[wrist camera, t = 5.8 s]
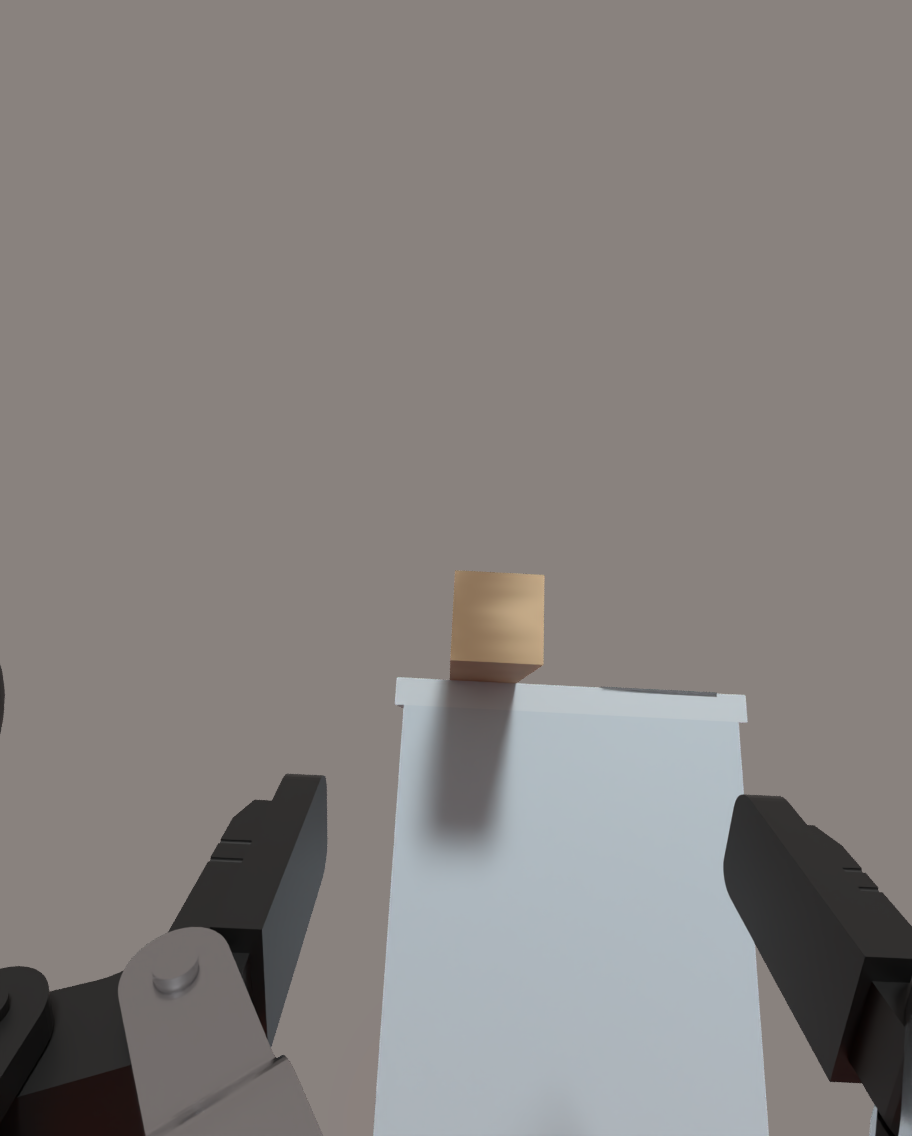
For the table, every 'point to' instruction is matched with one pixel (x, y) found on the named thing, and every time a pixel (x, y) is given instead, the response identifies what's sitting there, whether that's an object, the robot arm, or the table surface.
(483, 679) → the oak batten
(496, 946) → the light grey cabinet
